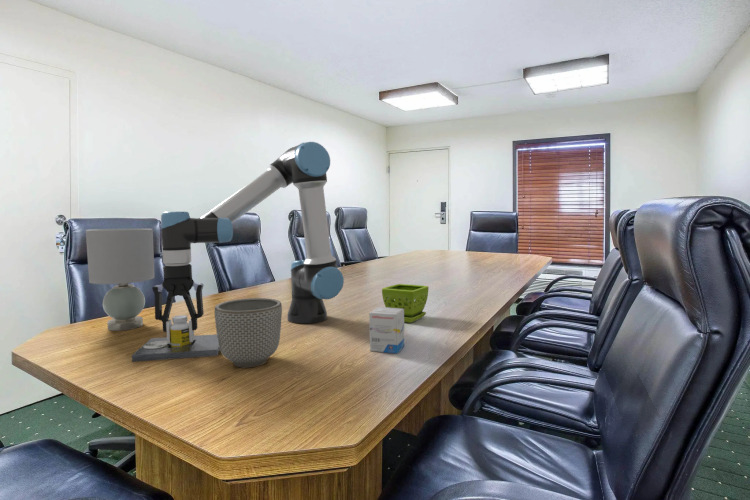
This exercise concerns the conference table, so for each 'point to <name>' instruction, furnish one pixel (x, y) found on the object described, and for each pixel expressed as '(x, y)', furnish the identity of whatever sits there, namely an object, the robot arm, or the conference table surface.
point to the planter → (248, 330)
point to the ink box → (386, 329)
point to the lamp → (121, 271)
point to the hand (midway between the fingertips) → (181, 341)
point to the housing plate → (177, 349)
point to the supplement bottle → (180, 332)
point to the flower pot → (406, 299)
